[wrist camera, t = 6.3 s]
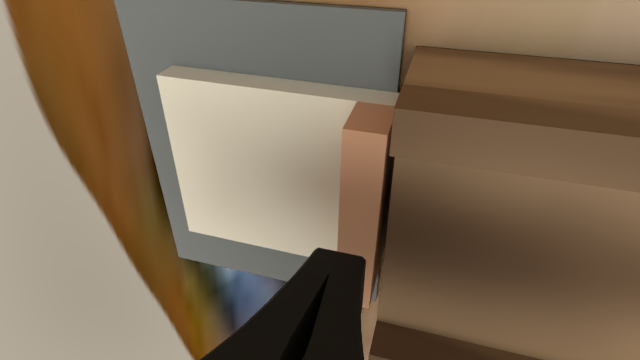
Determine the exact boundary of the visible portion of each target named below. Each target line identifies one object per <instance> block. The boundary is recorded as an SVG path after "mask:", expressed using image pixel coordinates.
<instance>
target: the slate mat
mask: <svg viewBox="0 0 640 360" xmlns="http://www.w3.org/2000/svg"><path fill="white" fill-rule="evenodd" d="M114 2H115V6H116V10H117V14H118V17H119V21H120V25H121V29H122V33H123V37H124V41H125V45H126V49H127V53H128V57H129V61H130V65H131V69H132V73H133V77H134V81H135V85H136V89H137V93H138V97H139V101H140V105H141V109H142V113H143V117H144V120H145V124H146V128H147V132H148V136H149V140H150V144H151V148H152V152H153V156H154V160H155V164H156V168H157V172H158V176H159V180H160V184H161V188H162V192H163V196H164V200H165V204H166V208H167V212H168V216H169V219H170V223H171V227H172V231H173V235H174V239H175V243H176V247H177V251H178V255H179V257H181V258H186V259H190V260H194V261H199V262H203V263H208V264H212V265H217V266H221V267H225V268H230V269H234V270H239V271H243V272H247V273H252V274H256V275H261V276H265V277H270V278H274V279H278V280H283V281H287V282H288V281H289V279H290V278H291V277H292V276H293V275H294V274H295V273H296V272H297V270H298V269H299V268H300V267H301V266H302V265H303V263H304V262H305V261H306V260H307V259H308V257H306V256H302V255H297V254H293V253H288V252H283V251H279V250H274V249H270V248H265V247H261V246H256V245H251V244H247V243H242V242H238V241H233V240H228V239H224V238H219V237H215V236H210V235H205V234H201V233H196V232H192V231H189V228H188V223H187V219H186V214H185V209H184V204H183V200H182V195H181V190H180V186H179V181H178V176H177V172H176V167H175V162H174V157H173V153H172V148H171V143H170V139H169V134H168V129H167V124H166V120H165V115H164V110H163V106H162V101H161V96H160V91H159V87H158V82H157V77H156V75H157V74H159V73H161V72H162V71H164V70H166V69H167V68H169V67H170V66H172V65H176V66H184V67H192V68H200V69H209V70H217V71H225V72H233V73H241V74H249V75H258V76H266V77H274V78H282V79H290V80H299V81H307V82H315V83H323V84H331V85H340V86H348V87H356V88H364V89H372V90H380V91H389V92H397V93H398V89H399V79H400V69H401V60H402V50H403V41H404V31H405V22H406V12H407V10H404V9H389V8H375V7H360V6H345V5H330V4H315V3H300V2H286V1H271V0H114ZM379 271H380V267H379ZM379 271H378V275H377V279H376V283H375V287H374V291H373V295H372V299H371V301H376V298H377V290H378V280H379Z"/></svg>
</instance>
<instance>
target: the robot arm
mask: <svg viewBox="0 0 640 360" xmlns="http://www.w3.org/2000/svg"><path fill="white" fill-rule="evenodd" d="M365 269H366V260H365V259H364V258H363V257H362V256H358V255H353V254H348V253H343V252H338V251H333V250H328V249H324V248H319V247H318V248H317V249H315V250H314V251H313V252H312V254H311V255H310V256H309V257H308V259H307V260H306V261H305V262H304V263H303V265H302V266H301V267H300V268H299V269H298V270H297V272H296V273H295V274H294V275H293V276H292V277H291V278H290V279H289V281H288V282H287V283H286V284H285V285H284V286H283V287H282V288H281V289H280V290H279V291H278V292H277V293H276V294H275V295H274V296H273V297H272V298H271V299H270V300H269V301H268V302H267V303H266V304H265V305H264V306H263V307H262V308H261V309H260V310H259V311H258V312H257V313H256V314H255V315H253V316H252V317H251V318H250V319H249V320H248V321H247V322H246V323H245V324H244V325H243V326H241V327H240V328H239V329H238V330H237V331H236V332H235V333H233V334H232V335H231V336H230V337H229V338H227V339H226V340H225V341H224V342H222V343H221V344H220V345H219V346H217V347H216V348H215V349H213V350H212V351H211V352H210V353H208V354H207V355H205V356H204V357H203V358H201V359H200V360H364V354H363V345H362V333H361V311H362V306H363V293H364V281H365Z"/></svg>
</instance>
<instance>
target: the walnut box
mask: <svg viewBox="0 0 640 360" xmlns="http://www.w3.org/2000/svg"><path fill="white" fill-rule="evenodd" d="M389 156H392V157H395V160H394V170H393V179H392V188H391V197H390V206H389V215H388V224H387V233H386V242H385V252H384V261H383V270H382V279H381V288H380V297H379V306H378V315H377V322H376V327H375V331H374V336H373V340H372V344H371V349H370V353H369V360H640V65H629V64H618V63H606V62H595V61H583V60H572V59H560V58H548V57H537V56H525V55H514V54H502V53H491V52H479V51H467V50H456V49H444V48H433V47H421V46H417V47H416V49H415V52H414V55H413V58H412V60H411V63H410V66H409V69H408V71H407V74H406V77H405V80H404V82H403V85H402V88H401V91H400V93H399V96H398V99H397V101H396V104H395V107H394V113H393V123H392V133H391V143H390V153H389Z"/></svg>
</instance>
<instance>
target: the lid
mask: <svg viewBox="0 0 640 360" xmlns="http://www.w3.org/2000/svg"><path fill="white" fill-rule="evenodd" d="M156 77H157V82H158V87H159V91H160V96H161V101H162V106H163V110H164V115H165V120H166V124H167V129H168V134H169V139H170V143H171V148H172V153H173V157H174V162H175V167H176V172H177V176H178V181H179V186H180V190H181V195H182V200H183V204H184V209H185V214H186V219H187V223H188V228H189V231H192V232H196V233H201V234H205V235H210V236H215V237H219V238H224V239H228V240H233V241H238V242H242V243H247V244H251V245H256V246H261V247H265V248H270V249H274V250H279V251H283V252H288V253H293V254H297V255H302V256H306V257H309V256H310V255H311V254H312V252H313V251H314V250H315V249H317V248H318V247H319V248H324V249H328V250H333V251H338V252H343V253H348V254H353V255H358V256H362V257H363V258H364V259H365V260H366V269H365V281H364V293H363V306H362V308H366V309H369V306H370V302H371V299H372V295H373V291H374V287H375V283H376V279H377V275H378V271H379V267H380V263H381V259H382V255H383V248H384V240H385V232H386V223H387V215H388V207H389V199H390V191H391V182H392V174H393V166H394V158H395V157H392V156H389V153H390V143H391V133H392V123H393V113H394V107H395V104H396V101H397V99H398V96H399V93H397V92H389V91H380V90H372V89H364V88H356V87H348V86H340V85H331V84H323V83H315V82H307V81H299V80H290V79H282V78H274V77H266V76H258V75H249V74H241V73H233V72H225V71H217V70H209V69H200V68H192V67H184V66H176V65H172V66H170V67H169V68H167V69H166V70H164V71H162V72H161V73H159V74H157V75H156Z"/></svg>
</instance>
